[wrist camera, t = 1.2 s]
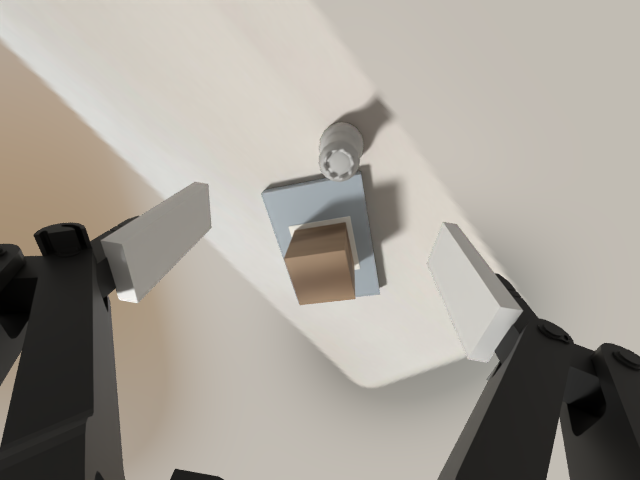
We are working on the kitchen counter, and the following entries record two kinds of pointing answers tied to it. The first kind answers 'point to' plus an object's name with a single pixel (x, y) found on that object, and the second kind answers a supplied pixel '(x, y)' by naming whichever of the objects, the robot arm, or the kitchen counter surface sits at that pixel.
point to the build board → (326, 220)
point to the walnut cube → (321, 264)
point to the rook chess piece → (340, 151)
